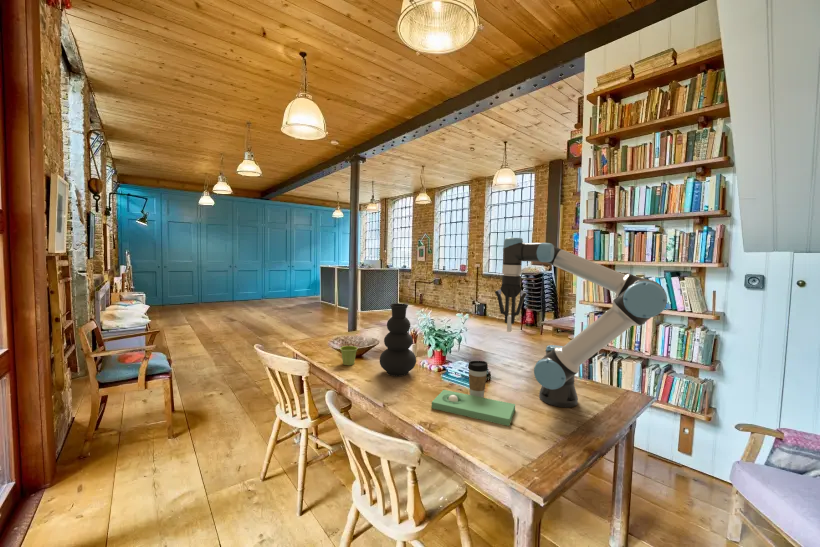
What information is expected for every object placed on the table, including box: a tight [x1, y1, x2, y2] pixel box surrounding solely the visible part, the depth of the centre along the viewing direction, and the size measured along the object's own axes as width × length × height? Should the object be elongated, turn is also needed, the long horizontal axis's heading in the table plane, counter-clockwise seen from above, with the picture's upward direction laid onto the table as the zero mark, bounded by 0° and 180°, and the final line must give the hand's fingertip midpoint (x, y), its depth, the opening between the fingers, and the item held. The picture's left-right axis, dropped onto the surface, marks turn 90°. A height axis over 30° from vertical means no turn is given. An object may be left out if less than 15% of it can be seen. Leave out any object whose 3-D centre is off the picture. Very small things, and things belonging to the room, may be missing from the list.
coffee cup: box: [467, 360, 489, 398], centre depth 150 cm, size 8×8×15 cm
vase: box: [379, 302, 417, 377], centre depth 175 cm, size 18×18×35 cm
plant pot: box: [339, 345, 359, 366], centre depth 188 cm, size 9×9×9 cm
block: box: [431, 389, 516, 427], centre depth 138 cm, size 30×14×2 cm, turn 65°
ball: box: [448, 395, 458, 402], centre depth 141 cm, size 4×4×4 cm
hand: (509, 331), depth 146 cm, fingers closed
